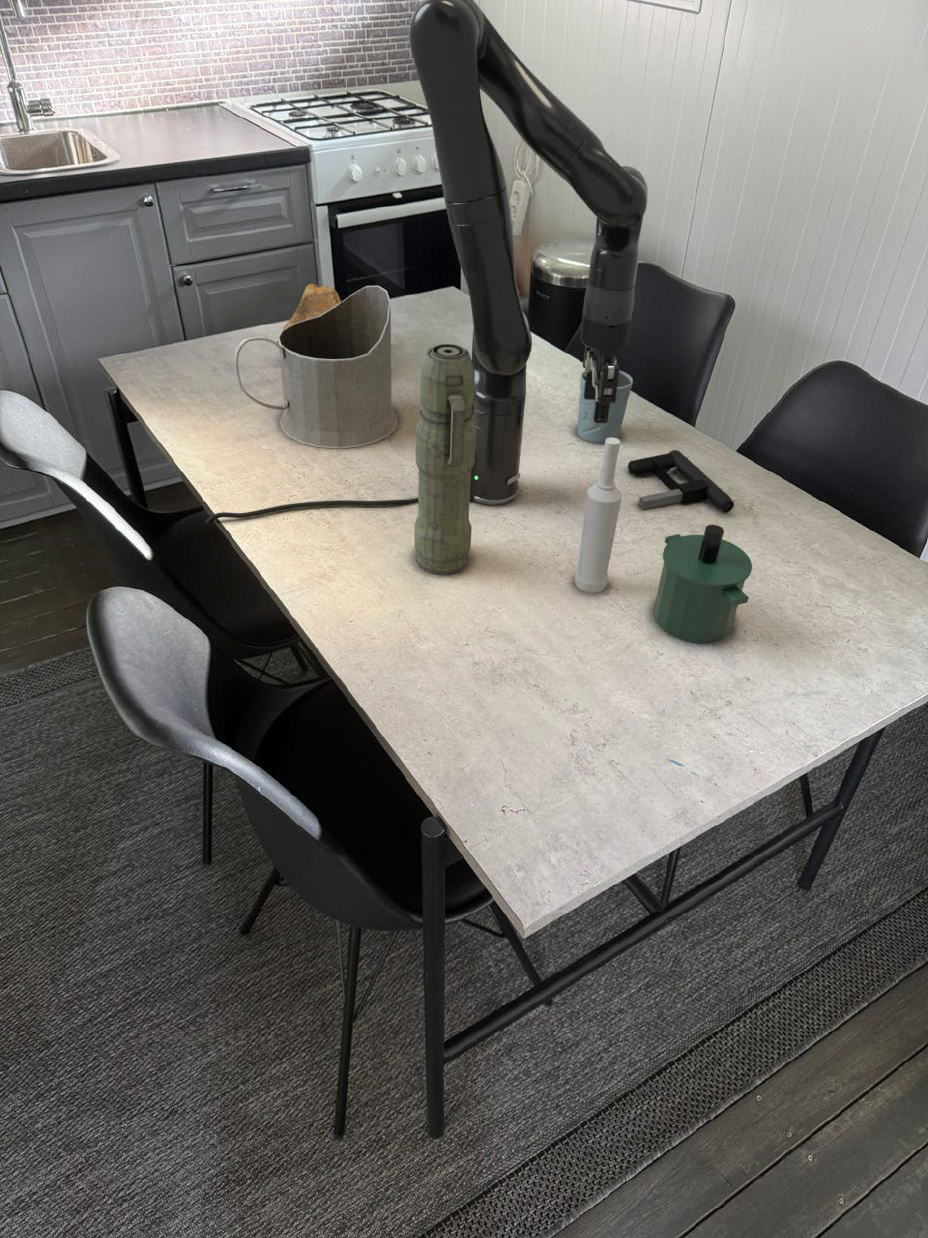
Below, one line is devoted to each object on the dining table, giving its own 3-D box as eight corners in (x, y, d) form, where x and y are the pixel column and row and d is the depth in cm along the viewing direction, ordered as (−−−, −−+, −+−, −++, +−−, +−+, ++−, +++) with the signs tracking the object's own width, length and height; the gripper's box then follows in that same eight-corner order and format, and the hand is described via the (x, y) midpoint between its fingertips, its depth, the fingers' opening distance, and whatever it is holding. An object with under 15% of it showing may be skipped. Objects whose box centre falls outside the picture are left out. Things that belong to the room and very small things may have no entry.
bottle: (611, 579, 144) (635, 437, 129) (600, 597, 141) (625, 452, 125) (580, 571, 146) (601, 429, 130) (569, 588, 142) (589, 444, 127)
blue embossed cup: (567, 438, 181) (574, 381, 174) (581, 418, 189) (588, 362, 181) (616, 449, 179) (625, 392, 171) (629, 428, 186) (638, 372, 179)
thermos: (431, 585, 141) (435, 371, 119) (403, 545, 149) (402, 338, 128) (482, 573, 144) (496, 362, 122) (452, 535, 153) (460, 331, 131)
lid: (695, 599, 125) (704, 562, 121) (645, 550, 134) (652, 515, 130) (768, 580, 129) (779, 544, 125) (715, 534, 138) (724, 499, 134)
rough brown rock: (270, 351, 211) (258, 288, 201) (338, 337, 216) (330, 274, 206) (297, 396, 195) (286, 329, 185) (370, 379, 200) (363, 314, 190)
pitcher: (417, 431, 181) (418, 307, 165) (268, 469, 167) (254, 336, 152) (363, 387, 196) (360, 269, 180) (222, 418, 182) (205, 293, 167)
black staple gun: (660, 515, 156) (742, 497, 160) (608, 460, 170) (683, 444, 174) (658, 531, 158) (738, 513, 162) (606, 475, 172) (681, 460, 176)
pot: (693, 662, 129) (708, 604, 123) (629, 595, 141) (640, 538, 135) (758, 643, 133) (777, 585, 127) (691, 579, 145) (704, 523, 139)
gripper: (575, 296, 145) (565, 391, 155) (592, 330, 134) (580, 430, 144) (621, 296, 145) (608, 391, 155) (642, 330, 134) (626, 430, 144)
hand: (594, 410), depth 150 cm, fingers open, 8 cm apart
